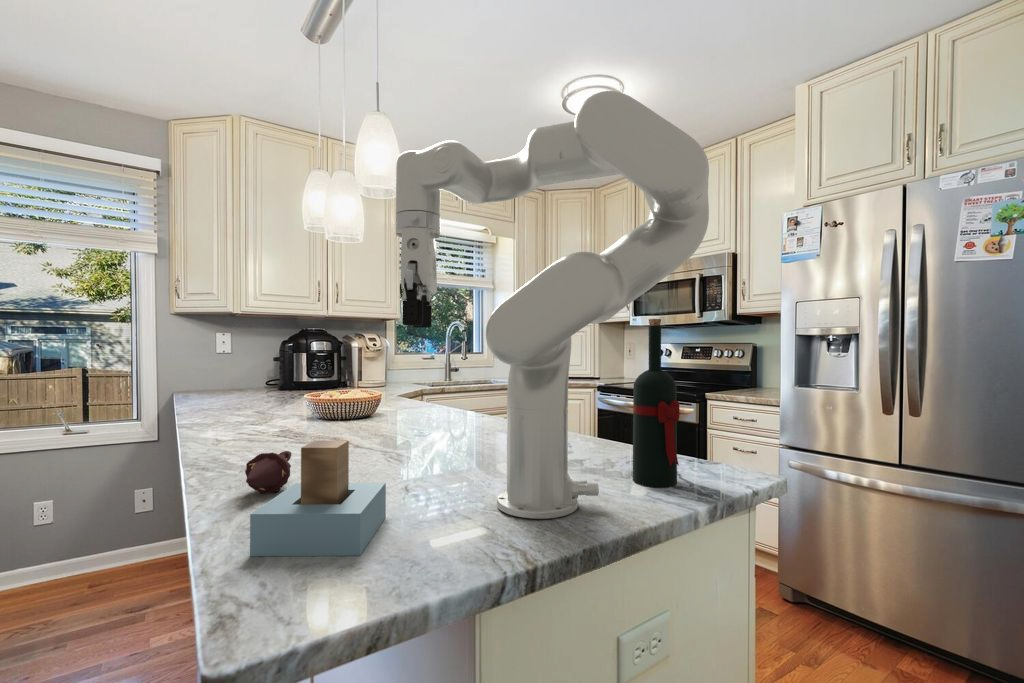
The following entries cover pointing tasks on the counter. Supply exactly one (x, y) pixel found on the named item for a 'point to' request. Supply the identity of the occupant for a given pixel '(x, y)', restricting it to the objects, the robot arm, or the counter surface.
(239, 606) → the counter surface
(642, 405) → the wine bottle
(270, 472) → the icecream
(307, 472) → the walnut peg
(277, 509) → the socket block
